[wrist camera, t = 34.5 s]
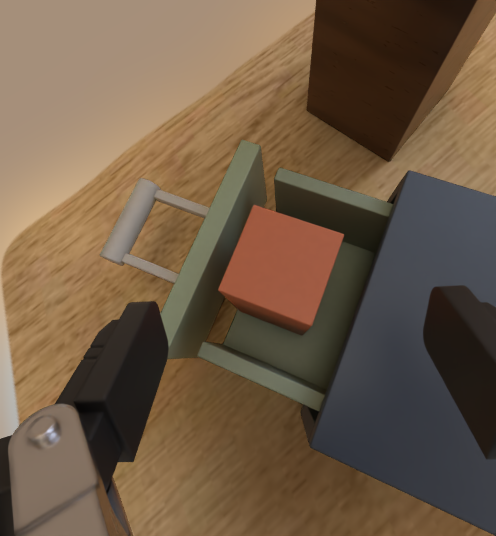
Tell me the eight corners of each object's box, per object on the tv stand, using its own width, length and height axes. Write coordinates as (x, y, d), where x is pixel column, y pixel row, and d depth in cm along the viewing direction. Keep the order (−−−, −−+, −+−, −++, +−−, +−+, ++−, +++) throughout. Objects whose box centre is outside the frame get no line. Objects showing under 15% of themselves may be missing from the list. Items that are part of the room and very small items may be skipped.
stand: (389, 162, 27) (529, -97, 11) (306, 110, 29) (330, -174, 13) (448, 89, 28) (652, -240, 12) (364, 44, 30) (450, -293, 14)
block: (239, 311, 23) (217, 290, 16) (263, 251, 24) (253, 203, 16) (302, 335, 22) (311, 326, 15) (324, 273, 23) (345, 233, 16)
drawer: (111, 318, 25) (47, 305, 18) (184, 170, 27) (151, 110, 21) (375, 438, 22) (417, 477, 15) (434, 257, 24) (494, 218, 17)
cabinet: (300, 412, 23) (309, 447, 15) (367, 230, 26) (408, 169, 17) (535, 520, 21) (717, 642, 12) (585, 305, 23) (765, 277, 14)
